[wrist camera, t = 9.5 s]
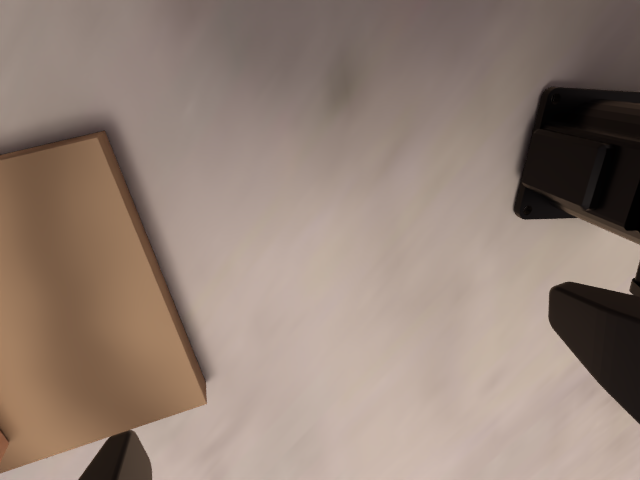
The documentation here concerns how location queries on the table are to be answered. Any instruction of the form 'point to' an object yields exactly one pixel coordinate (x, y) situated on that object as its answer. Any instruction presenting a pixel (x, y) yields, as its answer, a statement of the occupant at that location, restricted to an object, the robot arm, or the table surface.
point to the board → (82, 307)
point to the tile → (3, 445)
